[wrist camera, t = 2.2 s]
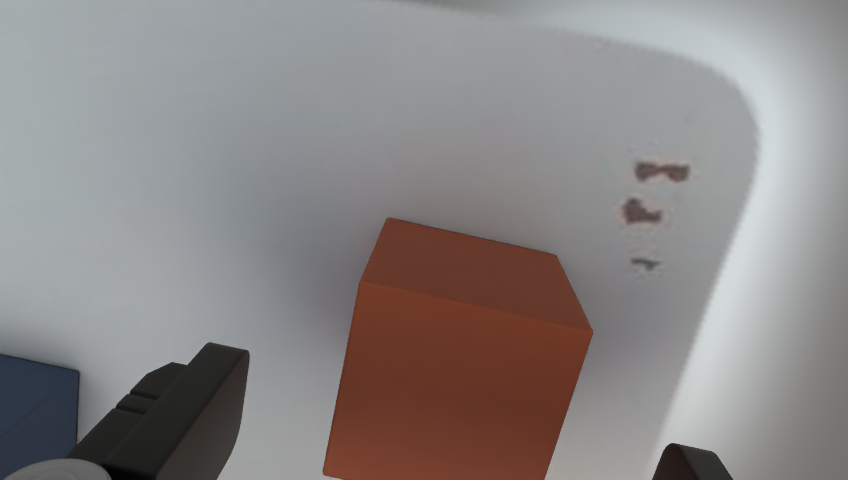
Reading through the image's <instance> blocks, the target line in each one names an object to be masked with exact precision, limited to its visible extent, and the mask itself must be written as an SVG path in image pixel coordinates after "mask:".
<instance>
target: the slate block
mask: <svg viewBox="0 0 848 480" xmlns="http://www.w3.org/2000/svg"><path fill="white" fill-rule="evenodd" d="M77 397H78V372H77V371H72V370H68V369H63V368H59V367H54V366H49V365H45V364H40V363H35V362H31V361H26V360H22V359H17V358H12V357H8V356H3V355H0V480H4V479H5V478H6V477H8V476H9V475H11V474H12V473H14V472H16V471H18V470H20V469H22V468H24V467H27V466H29V465H32V464H35V463H39V462H43V461H47V460H54V459H64V458H65V457H66V456H67V455H68V454H69V453H70V452H71V451H72V450H73V449H74V448H75V446H76V421H77Z"/></svg>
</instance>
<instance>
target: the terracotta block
mask: <svg viewBox="0 0 848 480" xmlns="http://www.w3.org/2000/svg"><path fill="white" fill-rule="evenodd" d="M592 335H593V330H592V328H591V326H590V324H589V322H588V320H587V318H586V316H585V313H584V311H583V309H582V307H581V305H580V303H579V301H578V299H577V297H576V295H575V293H574V291H573V289H572V287H571V285H570V282H569V280H568V278H567V276H566V274H565V272H564V270H563V268H562V266H561V264H560V262H559V260H558V258H557V256H556V255H554V254H549V253H545V252H540V251H536V250H531V249H527V248H522V247H518V246H513V245H509V244H504V243H500V242H495V241H491V240H486V239H481V238H477V237H472V236H468V235H463V234H459V233H454V232H450V231H445V230H441V229H436V228H432V227H427V226H423V225H418V224H414V223H409V222H405V221H400V220H396V219H391V218H387V219H386V221H385V224H384V226H383V228H382V231H381V233H380V235H379V238H378V240H377V242H376V245H375V247H374V249H373V252H372V254H371V256H370V259H369V261H368V263H367V266H366V268H365V270H364V272H363V275H362V277H361V279H360V282H359V287H358V292H357V297H356V302H355V307H354V313H353V318H352V323H351V328H350V333H349V338H348V343H347V349H346V354H345V359H344V364H343V369H342V374H341V379H340V385H339V390H338V395H337V400H336V405H335V410H334V416H333V421H332V426H331V431H330V436H329V441H328V446H327V452H326V457H325V462H324V467H323V475H325V476H330V477H334V478H339V479H344V480H544V479H545V476H546V473H547V470H548V467H549V464H550V461H551V458H552V455H553V452H554V449H555V446H556V443H557V440H558V437H559V434H560V431H561V428H562V425H563V422H564V419H565V416H566V413H567V410H568V407H569V404H570V401H571V398H572V395H573V392H574V389H575V386H576V383H577V380H578V377H579V374H580V371H581V368H582V365H583V362H584V359H585V356H586V353H587V350H588V347H589V344H590V341H591V338H592Z"/></svg>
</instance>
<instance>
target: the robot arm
mask: <svg viewBox="0 0 848 480" xmlns="http://www.w3.org/2000/svg"><path fill="white" fill-rule="evenodd" d="M249 359H250V355H249V351H248V350H243V349H239V348H234V347H229V346H225V345H220V344H216V343H211V342H209V343H207V344H206V345H205V346H204V347H203V348H202V349H201V350H200V352H199V353H198V354H197V355H196V356H195V357H194V358H193V359H192V361H191V362H190V363H189V364H188V365H183V364H179V363H174V362H171V363H169V364H167V365H165V366H163V367H161V368H159V369H156V370H154V371H152V372H150V373H148V374H146V375H145V376H144V377H143V378H142V379H141V380H140V382H139V383H138V384H137V385H136V386H135V387H134V388H133V389H132V390H131V391H130V394H127V395H126V396H125V397H124V398H123V399H122V400H121V401H120V402H119V403H118V404H117V406H116V408H115V409H114V408H113V409H112V410H111V411H110V412H109V413H108V414H107V415H106V416H105V417H104V418H103V419H102V420H101V421H100V422H99V423H98V424H97V425H96V426H95V427H94V428H93V429H92V430H91V431H90V432H89V433H88V434H87V435H86V436H85V437H84V438H83V439H82V440H81V441H80V442H79V443H78V444H77V445H76V446H75V448H74V449H73V450H72V451H71V452H70V453H69V454H68V455H67V456H66V457H65V458H64V459H54V460H47V461H43V462H39V463H35V464H32V465H29V466H27V467H24V468H22V469H20V470H18V471H16V472H14V473H12V474H11V475H9V476H8V477H6V478H5V479H4V480H217V478H218V476H219V474H220V473H221V471H222V469H223V467H224V466H225V464H226V462H227V460H228V459H229V457H230V455H231V453H232V450H233V448H234V445H235V442H236V439H237V436H238V433H239V429H240V424H241V418H242V411H243V403H244V396H245V389H246V382H247V375H248V368H249ZM652 480H733V479H732V477H731V476H730V474H729V473H728V471H727V470H726V468H725V467H724V465H723V464H722V462H721V461H720V459H719V458H718V456H717V455H716V454H715V453H714V452H712V451H707V450H703V449H698V448H694V447H689V446H684V445H680V444H675V443H671V444H669V445H668V446H667V447H666V448H665V449H664V451H663V453H662V456H661V458H660V461H659V463H658V466H657V469H656V471H655V474H654V476H653V479H652Z"/></svg>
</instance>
